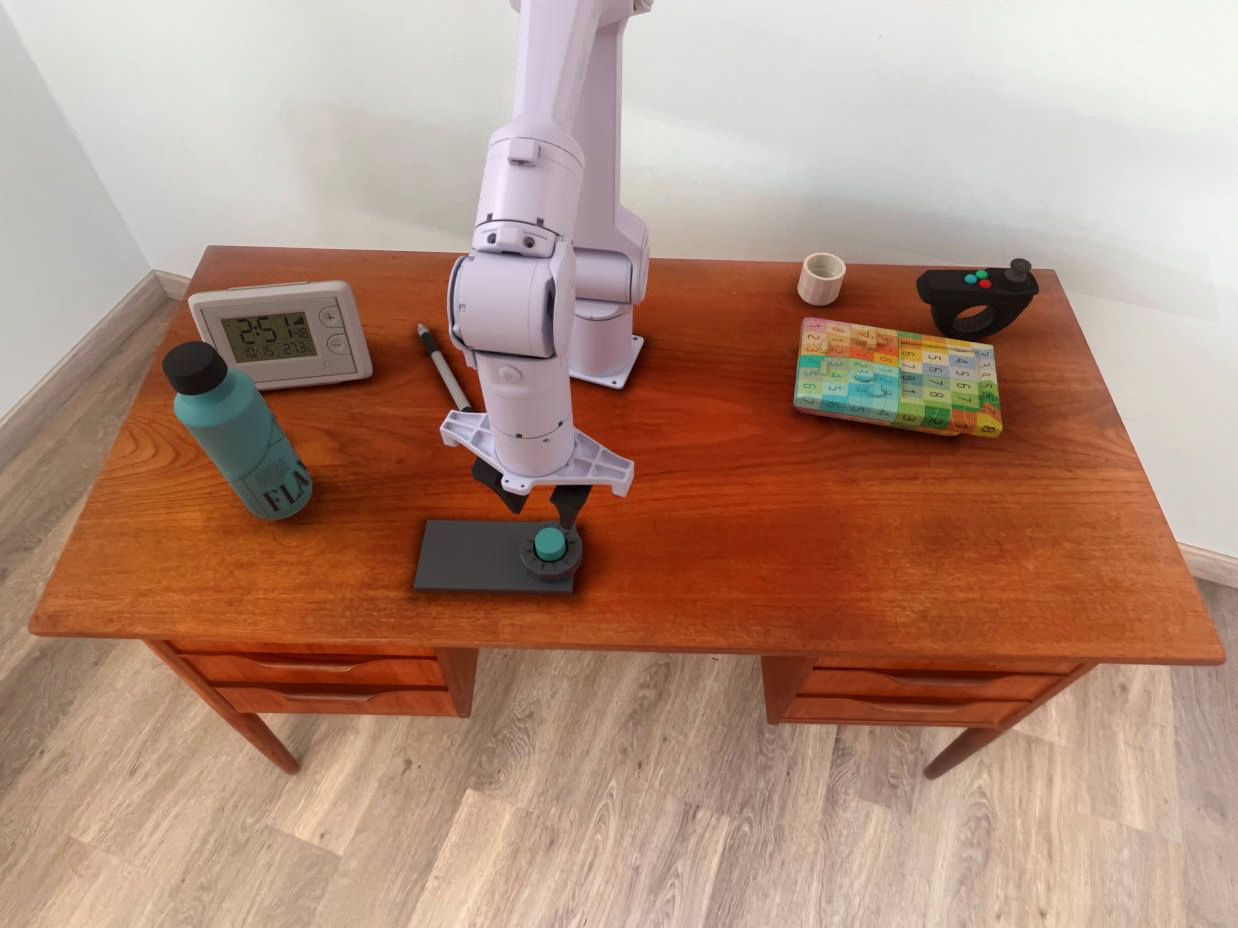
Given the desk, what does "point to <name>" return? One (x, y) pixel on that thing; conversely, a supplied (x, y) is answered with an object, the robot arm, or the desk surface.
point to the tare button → (550, 544)
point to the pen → (444, 370)
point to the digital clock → (286, 332)
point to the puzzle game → (897, 379)
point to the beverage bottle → (237, 431)
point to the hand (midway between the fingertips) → (545, 511)
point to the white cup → (821, 278)
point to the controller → (977, 298)
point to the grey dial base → (494, 558)
